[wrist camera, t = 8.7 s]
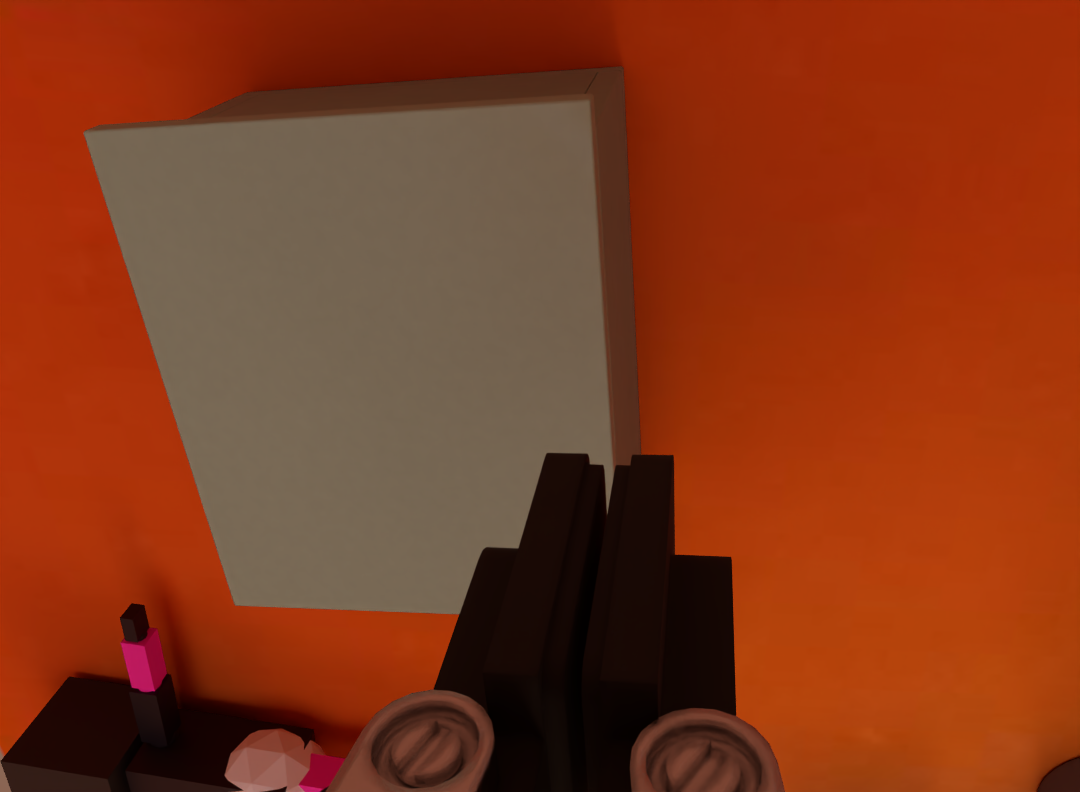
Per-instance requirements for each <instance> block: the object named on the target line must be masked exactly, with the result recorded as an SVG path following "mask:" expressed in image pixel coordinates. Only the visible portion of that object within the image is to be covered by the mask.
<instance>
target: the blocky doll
mask: <svg viewBox="0 0 1080 792" xmlns="http://www.w3.org/2000/svg"><path fill="white" fill-rule="evenodd" d="M120 620H121V625H122V629H123V633H124V637H125V638H124V639H123V640H122V642H121V646H122V650H123V654H124V658H125V662H126V666H127V670H128V674H129V678H130V682H131V686H127V685H121V684H114V683H108V682H101V681H95V680H89V679H82V678H76V677H68V678H67V680H66V681H65V682H64V683H63V685H62V686H61V687H60V688H59V690H58V691H57V692H56V693H55V694H54V696H53V697H52V698H51V699H50V701H49V702H48V703H47V704H46V706H45V707H44V708H43V709H42V711H41V712H40V713H39V714H38V716H37V717H36V718H35V719H34V721H33V722H32V723H31V724H30V725H29V727H28V728H27V729H26V730H25V732H24V733H23V734H22V735H21V737H20V738H19V739H18V740H17V742H16V743H15V744H14V745H13V747H12V748H11V749H10V750H9V752H8V753H7V754H6V755H5V756H4V758H3V759H2V760H1V764H2V767H3V769H4V772H5V775H6V777H7V780H8V783H9V786H10V789H11V791H12V792H319V791H321V790H323V789H325V788H326V787H328V786H329V785H330V784H331V782H332V780H333V779H334V777H335V775H336V774H337V772H338V770H339V769H340V767H341V765H342V764H343V762H344V760H345V758H338V757H332V756H326V754H325V753H324V751H323V750H322V748H321V746H319V745H318V744H316V743H315V737H314V730H313V729H307V728H300V727H294V726H287V725H281V724H275V723H268V722H262V721H256V720H249V719H243V718H236V717H230V716H224V715H217V714H211V713H205V712H198V711H192V710H185V709H179V708H178V706H177V701H176V697H175V692H174V687H173V683H172V678H171V674H167V671H166V666H165V662H164V657H163V652H162V648H161V643H160V639H159V634H158V630H157V629H156V628H149V624H148V620H147V615H146V611H145V606H144V605H140V604H133V603H132V604H131V605H130V606H129V607H128V609H127V610H126V611H125V612H124V614H123V615H122V616H121V617H120Z"/></svg>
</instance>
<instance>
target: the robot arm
mask: <svg viewBox="0 0 1080 792" xmlns="http://www.w3.org/2000/svg"><path fill="white" fill-rule="evenodd" d="M319 792H785V790H784V786H783V782H782V778H781V774H780V770H779V766H778V763H777V760H776V758H775V756H774V753H773V751H772V749H771V747H770V745H769V743H768V742H767V741H766V740H765V738H764V737H763V736H762V735H761V734H760V733H759V732H758V731H757V730H756V729H755V728H754V727H753V726H751V725H750V724H748V723H746V722H745V721H743V720H741V719H740V718H738V717H737V716H736V694H735V659H734V624H733V589H732V560H731V557H719V556H695V555H675V525H674V457H673V455H632V457H631V463H630V465H616V466H615V471H614V477H613V483H612V489H611V495H610V501H609V507H608V513H607V506H606V486H605V470H604V465H596V464H590V460H589V455H588V454H587V453H547V454H546V456H545V459H544V462H543V465H542V469H541V472H540V476H539V479H538V483H537V486H536V489H535V493H534V496H533V500H532V503H531V507H530V510H529V514H528V517H527V520H526V524H525V527H524V531H523V534H522V538H521V541H520V544H519V548H497V547H486V548H484V549H483V550H482V552H481V555H480V557H479V559H478V562H477V565H476V568H475V571H474V574H473V577H472V580H471V582H470V585H469V588H468V591H467V594H466V597H465V600H464V603H463V606H462V609H461V611H460V614H459V617H458V620H457V623H456V626H455V629H454V632H453V635H452V637H451V640H450V643H449V646H448V649H447V652H446V655H445V658H444V661H443V664H442V666H441V669H440V672H439V675H438V678H437V681H436V684H435V687H434V690H428V691H423V692H417V693H412V694H409V695H407V696H404V697H402V698H400V699H397V700H395V701H393V702H391V703H390V704H388V705H387V706H386V707H384V708H383V709H382V710H380V711H379V712H377V713H376V714H375V715H374V717H373V718H372V719H371V720H370V721H369V723H368V724H367V725H366V726H365V728H364V729H363V730H362V732H361V734H360V735H359V737H358V739H357V740H356V742H355V744H354V745H353V747H352V749H351V750H350V752H349V754H348V755H347V757H346V759H345V760H344V762H343V764H342V765H341V767H340V769H339V770H338V772H337V774H336V775H335V777H334V779H333V780H332V782H331V784H330V785H329V786H328V787H326V788H325V789H323V790H321V791H319Z"/></svg>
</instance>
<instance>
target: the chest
mask: <svg viewBox="0 0 1080 792" xmlns="http://www.w3.org/2000/svg"><path fill="white" fill-rule="evenodd" d="M575 94H593V96H594V110H595V126H596V142H597V159H598V175H599V191H600V208H601V224H602V240H603V257H604V273H605V289H606V306H607V322H608V338H609V355H610V371H611V387H612V404H613V420H614V436H615V453H616V465H630V463H631V457H632V455H641V442H640V420H639V398H638V376H637V354H636V332H635V310H634V288H633V266H632V244H631V222H630V200H629V178H628V156H627V134H626V112H625V90H624V68H623V67H622V66H620V67H605V68H591V69H576V70H562V71H547V72H533V73H518V74H504V75H489V76H475V77H460V78H446V79H431V80H417V81H402V82H388V83H373V84H359V85H344V86H330V87H315V88H301V89H286V90H272V91H257V92H247V93H244V94H242V95H240V96H237V97H235V98H233V99H231V100H228V101H226V102H224V103H222V104H220V105H217V106H215V107H213V108H211V109H208V110H206V111H204V112H202V113H199V114H197V115H195V116H193V117H190V118H188V119H200V118H216V117H232V116H247V115H263V114H278V113H294V112H310V111H325V110H341V109H357V108H372V107H388V106H403V105H419V104H435V103H450V102H466V101H482V100H497V99H513V98H528V97H544V96H560V95H575Z"/></svg>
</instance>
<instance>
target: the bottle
mask: <svg viewBox="0 0 1080 792" xmlns="http://www.w3.org/2000/svg"><path fill="white" fill-rule="evenodd" d="M1038 792H1080V758H1077V759H1074V760H1072V761H1069V762H1067V763H1065V764H1063V765H1061V766H1059V767H1057V768H1056V769H1054V770H1053V771H1052V772H1051V773H1050V774H1048V775H1047V776H1046V777H1045V779H1044V780H1043V781H1042V783H1041V785H1040V786H1039V788H1038Z"/></svg>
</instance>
